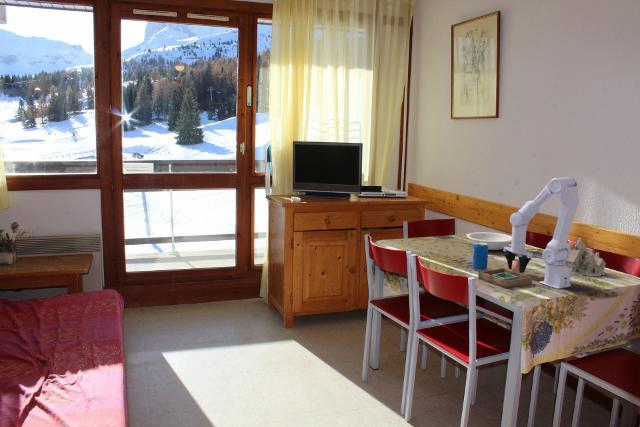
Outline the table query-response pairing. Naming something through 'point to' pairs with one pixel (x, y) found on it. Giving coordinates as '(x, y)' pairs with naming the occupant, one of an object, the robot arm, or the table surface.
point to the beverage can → (480, 256)
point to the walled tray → (505, 278)
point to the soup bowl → (491, 239)
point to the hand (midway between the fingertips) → (516, 270)
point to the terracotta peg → (516, 266)
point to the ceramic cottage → (584, 261)
